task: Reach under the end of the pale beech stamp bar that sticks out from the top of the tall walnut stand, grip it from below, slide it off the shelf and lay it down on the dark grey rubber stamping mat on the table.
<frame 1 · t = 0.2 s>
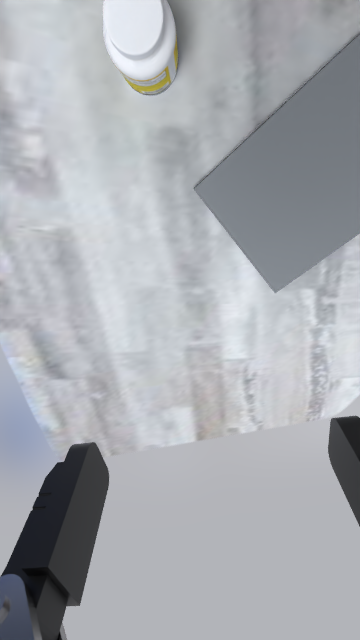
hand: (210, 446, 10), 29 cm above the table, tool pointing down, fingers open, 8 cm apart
supplement bottle: (149, 62, 28), on the table
stamping mat: (344, 155, 31), on the table
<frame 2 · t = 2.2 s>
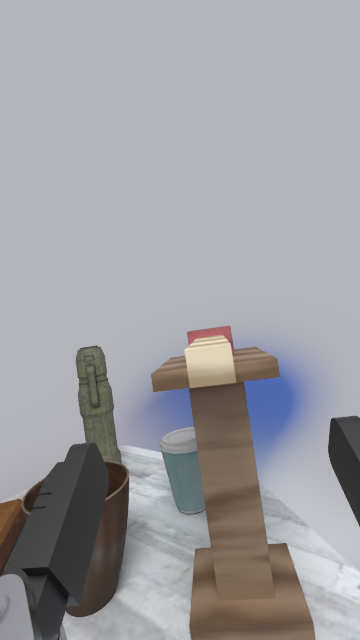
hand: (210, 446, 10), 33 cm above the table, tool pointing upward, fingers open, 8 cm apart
stamp bar: (212, 367, 32), point 32 cm above the table, touching stamp stand
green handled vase: (106, 477, 80), on the table
disposable coffee cup: (193, 505, 62), on the table
stamp stand: (246, 594, 40), on the table
plant pot: (92, 594, 44), on the table
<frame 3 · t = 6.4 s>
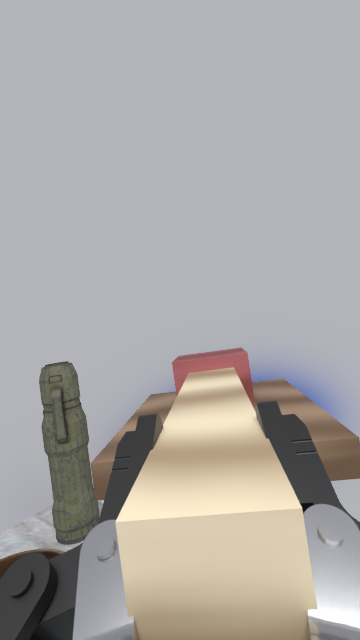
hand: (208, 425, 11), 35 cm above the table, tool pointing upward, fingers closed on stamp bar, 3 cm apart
stamp bar: (218, 459, 15), point 32 cm above the table, touching gripper, stamp stand
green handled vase: (78, 530, 62), on the table
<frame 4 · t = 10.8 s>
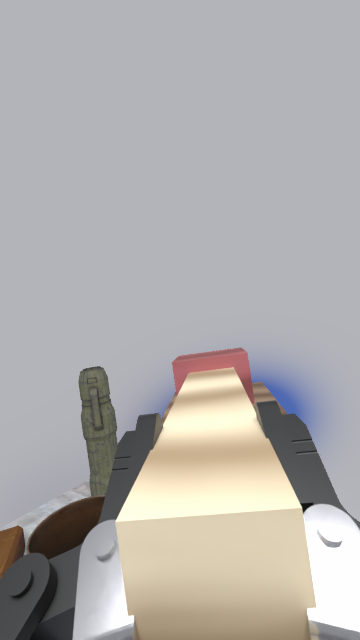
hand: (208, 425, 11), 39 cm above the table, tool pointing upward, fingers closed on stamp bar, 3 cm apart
stamp bar: (218, 459, 15), point 36 cm above the table, touching gripper
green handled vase: (109, 499, 80), on the table
stamp stand: (254, 639, 40), on the table
plant pot: (98, 635, 43), on the table
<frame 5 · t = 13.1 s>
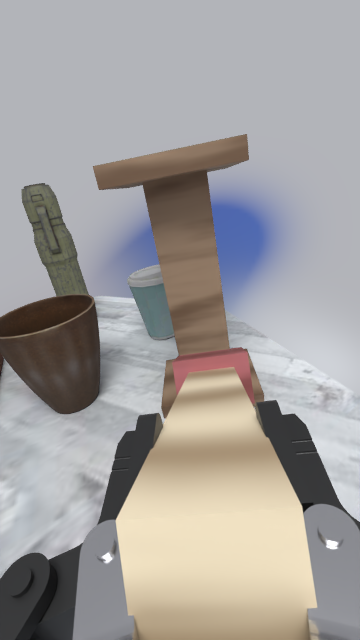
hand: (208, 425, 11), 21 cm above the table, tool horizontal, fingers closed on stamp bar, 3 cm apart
stamp bar: (218, 459, 15), point 17 cm above the table, tilted 26°, touching gripper
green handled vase: (82, 321, 83), on the table
disposable coffee cup: (165, 333, 67), on the table
stamp stand: (210, 385, 47), on the table
plant pot: (78, 399, 50), on the table
when the fingers open (12 cm above the table, at t = 15.3 s): stamp bar drops 7 cm, resting on stamping mat.
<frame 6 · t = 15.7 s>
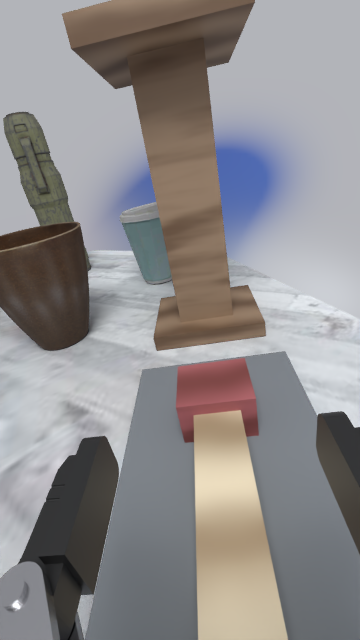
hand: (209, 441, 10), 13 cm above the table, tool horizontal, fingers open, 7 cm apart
stamp bar: (237, 577, 16), point 1 cm above the table, touching stamping mat
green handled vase: (75, 272, 79), on the table
disposable coffee cup: (161, 278, 63), on the table
stamping mat: (227, 488, 22), on the table
stamp stand: (207, 320, 43), on the table
plant pot: (66, 338, 47), on the table
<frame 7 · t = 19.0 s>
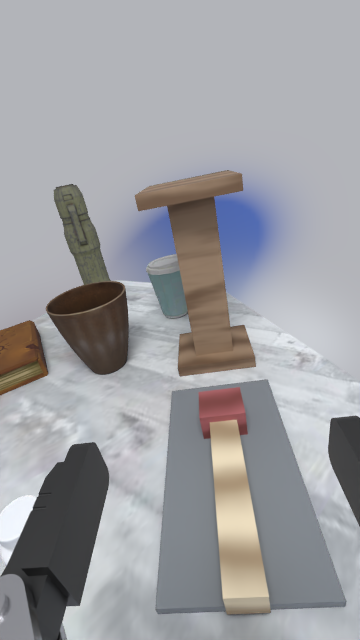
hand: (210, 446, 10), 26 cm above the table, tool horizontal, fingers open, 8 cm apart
stamp bar: (234, 503, 33), point 1 cm above the table, touching stamping mat
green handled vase: (104, 303, 96), on the table
disposable coffee cup: (177, 313, 80), on the table
supplement bottle: (58, 569, 31), on the table
stamping mat: (229, 464, 38), on the table
diary: (4, 370, 71), on the table
stamp stand: (214, 352, 60), on the table
plant pot: (110, 364, 64), on the table
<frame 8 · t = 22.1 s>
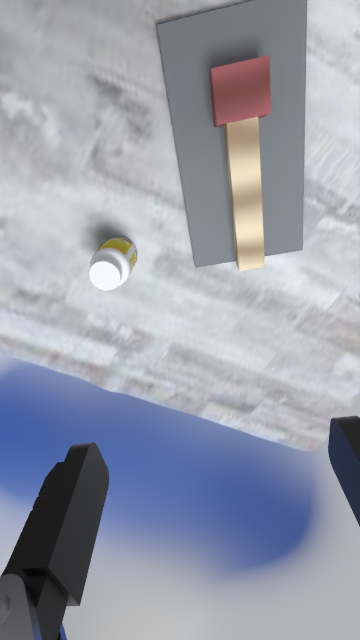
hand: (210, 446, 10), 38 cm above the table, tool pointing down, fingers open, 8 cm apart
stamp bar: (243, 199, 41), point 1 cm above the table, touching stamping mat
supplement bottle: (120, 253, 46), on the table
stamping mat: (239, 154, 39), on the table
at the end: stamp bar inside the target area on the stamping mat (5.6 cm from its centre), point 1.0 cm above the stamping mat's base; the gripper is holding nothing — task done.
